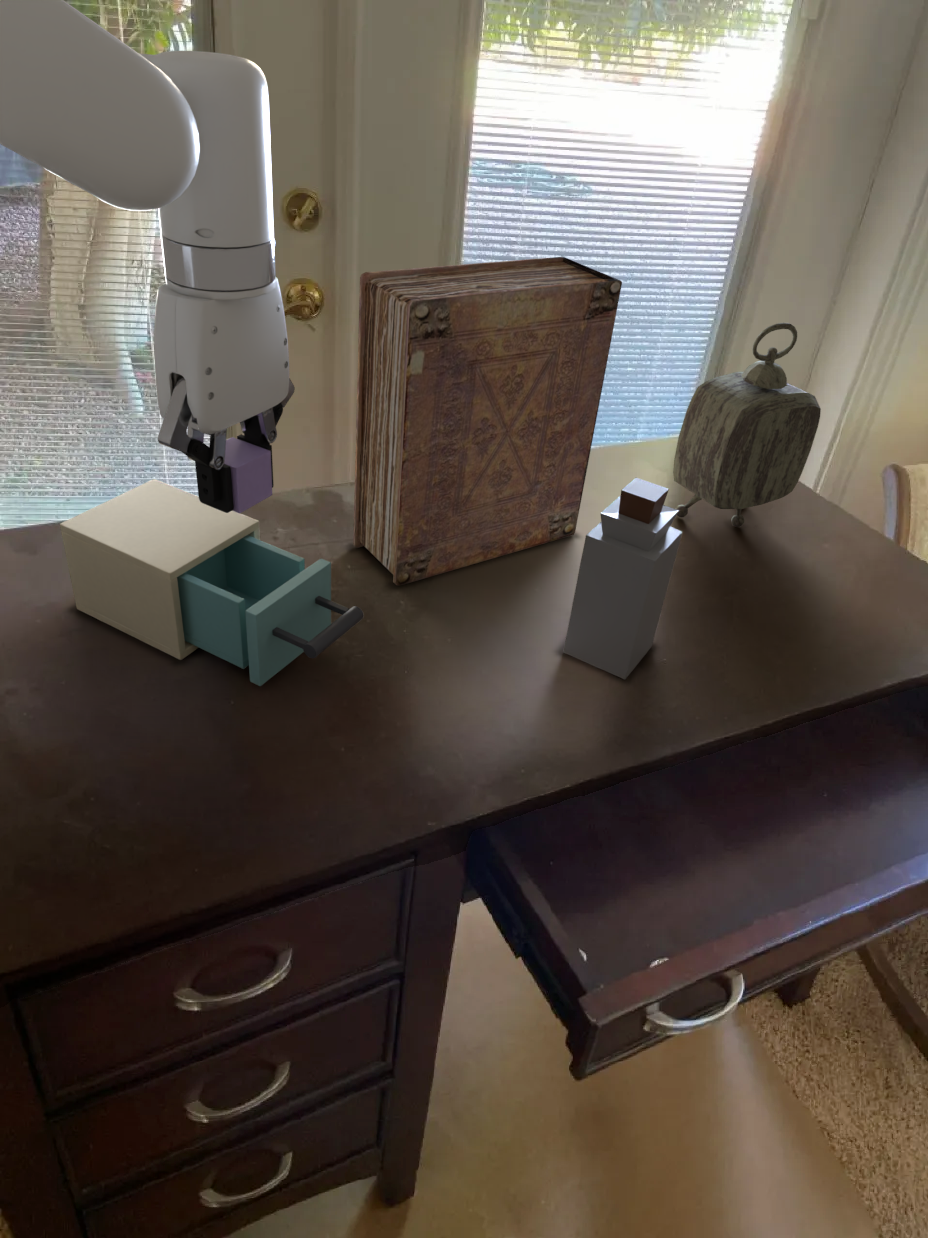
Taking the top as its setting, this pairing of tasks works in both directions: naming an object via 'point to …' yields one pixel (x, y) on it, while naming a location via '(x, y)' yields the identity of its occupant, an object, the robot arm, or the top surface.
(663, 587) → the perfume bottle
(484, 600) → the top surface
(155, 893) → the top surface
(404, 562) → the book
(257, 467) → the lavender cube
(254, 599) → the teal drawer
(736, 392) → the tabletop clock
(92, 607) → the drawer cabinet
